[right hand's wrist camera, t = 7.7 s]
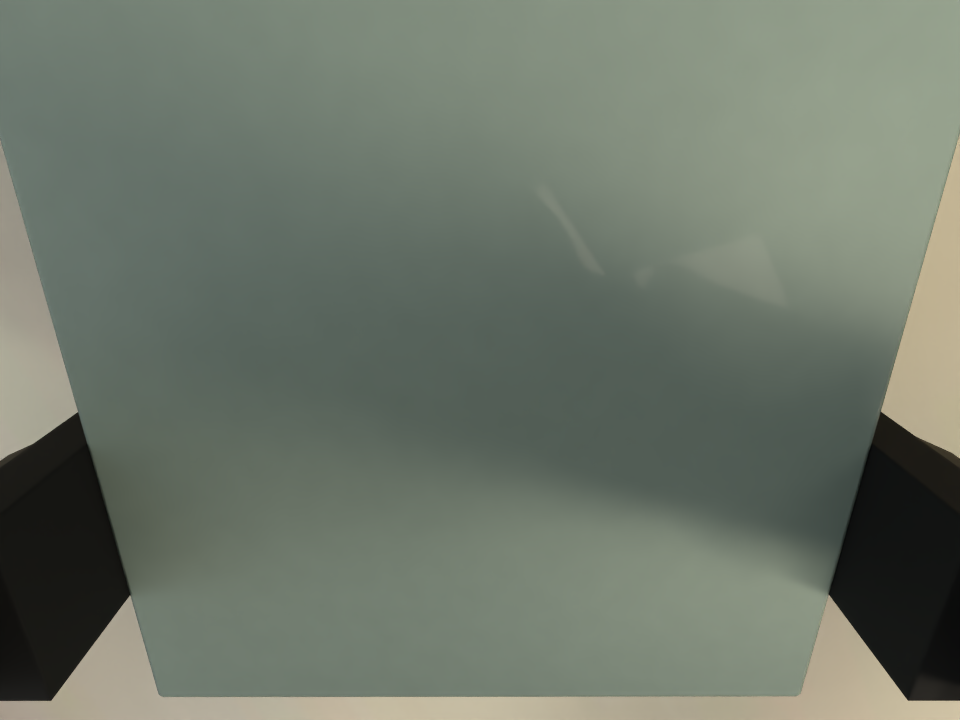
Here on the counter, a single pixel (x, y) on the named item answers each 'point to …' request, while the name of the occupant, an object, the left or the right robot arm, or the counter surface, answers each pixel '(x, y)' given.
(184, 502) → the cabinet
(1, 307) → the counter surface
